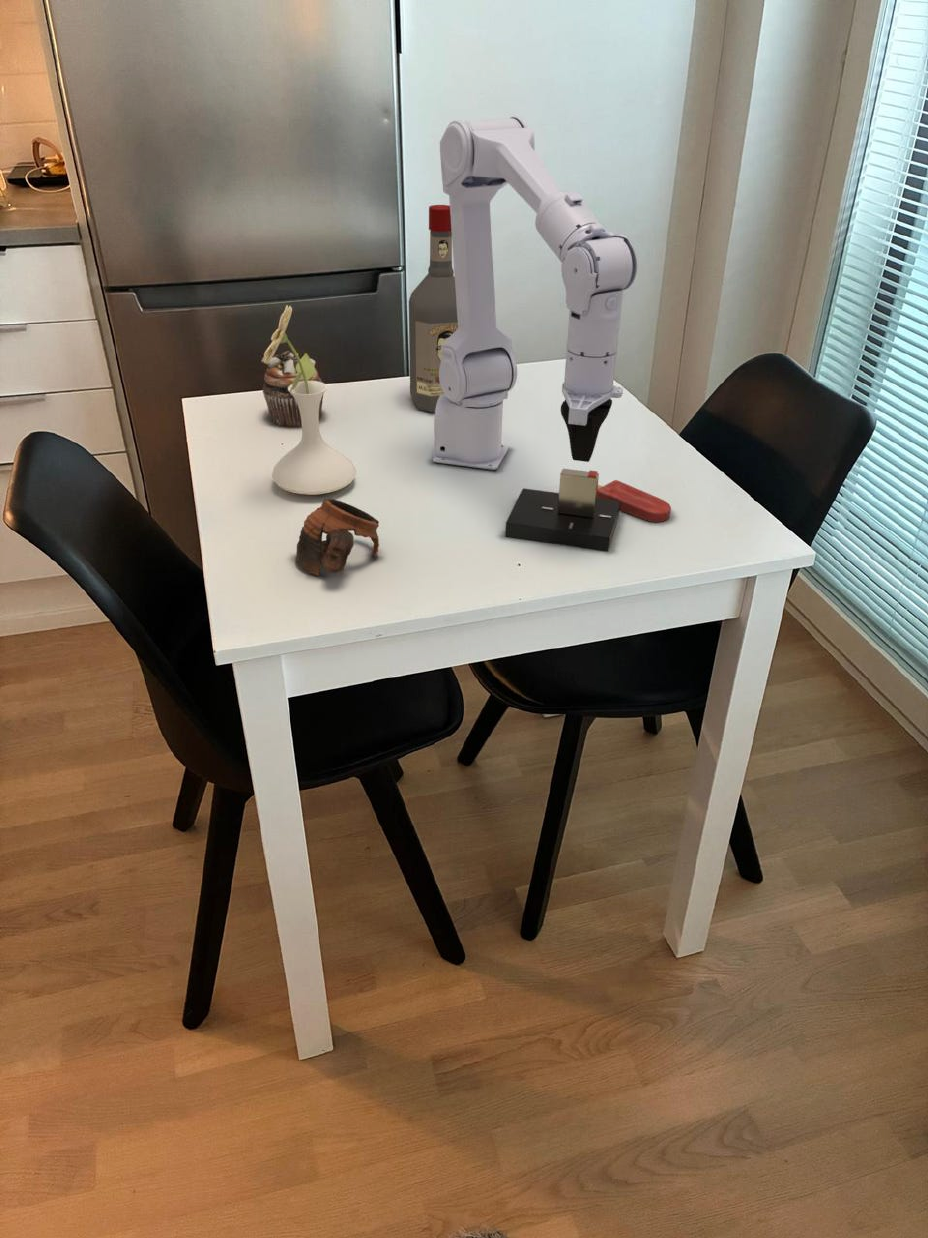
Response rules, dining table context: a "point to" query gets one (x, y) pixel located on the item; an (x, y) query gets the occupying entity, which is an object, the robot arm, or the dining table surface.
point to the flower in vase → (308, 433)
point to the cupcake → (284, 389)
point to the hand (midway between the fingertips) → (581, 458)
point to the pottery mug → (333, 536)
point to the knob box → (561, 521)
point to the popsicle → (635, 501)
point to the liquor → (432, 313)
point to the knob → (578, 492)
